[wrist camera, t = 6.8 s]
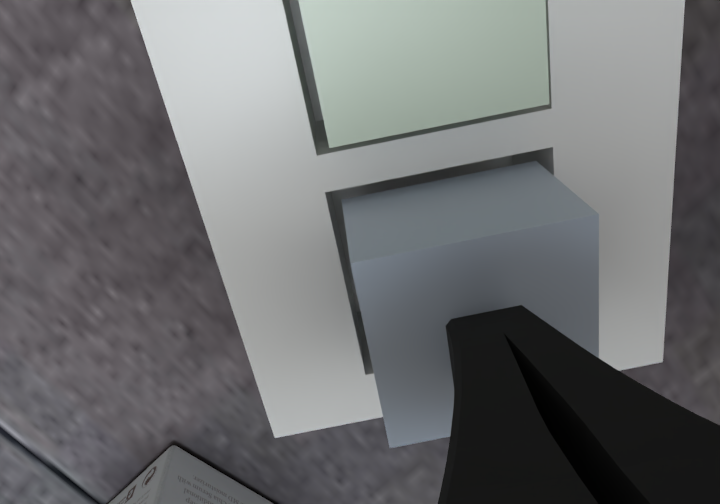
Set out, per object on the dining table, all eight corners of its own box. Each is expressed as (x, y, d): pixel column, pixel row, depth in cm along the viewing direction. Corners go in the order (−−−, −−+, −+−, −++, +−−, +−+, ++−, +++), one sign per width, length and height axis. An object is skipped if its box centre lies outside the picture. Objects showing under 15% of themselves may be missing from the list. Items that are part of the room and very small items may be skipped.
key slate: (536, 160, 12) (599, 213, 10) (544, 324, 14) (598, 407, 12) (341, 199, 12) (350, 262, 10) (374, 357, 14) (390, 448, 12)
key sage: (487, -134, 12) (539, -163, 9) (502, 76, 14) (549, 104, 11) (282, -92, 12) (274, -110, 9) (325, 113, 14) (329, 148, 11)
